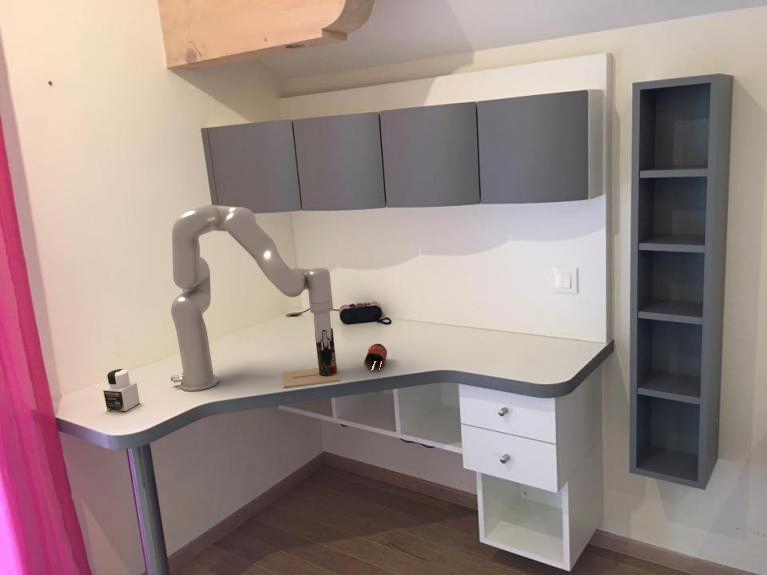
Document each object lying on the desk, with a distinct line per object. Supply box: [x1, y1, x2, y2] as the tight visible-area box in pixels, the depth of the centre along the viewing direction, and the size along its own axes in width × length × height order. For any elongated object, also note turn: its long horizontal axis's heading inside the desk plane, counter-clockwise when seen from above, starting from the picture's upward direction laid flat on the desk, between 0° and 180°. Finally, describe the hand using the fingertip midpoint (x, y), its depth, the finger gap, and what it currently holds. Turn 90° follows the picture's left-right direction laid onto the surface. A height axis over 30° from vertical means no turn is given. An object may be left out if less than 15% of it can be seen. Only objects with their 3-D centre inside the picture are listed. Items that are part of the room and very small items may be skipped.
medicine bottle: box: [102, 368, 141, 412], centre depth 204 cm, size 7×7×12 cm
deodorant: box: [314, 327, 338, 376], centre depth 216 cm, size 6×6×15 cm
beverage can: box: [363, 343, 388, 372], centre depth 222 cm, size 7×12×7 cm, turn 174°
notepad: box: [282, 367, 340, 389], centre depth 217 cm, size 18×14×1 cm
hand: (326, 356), depth 216 cm, fingers open, 9 cm apart
